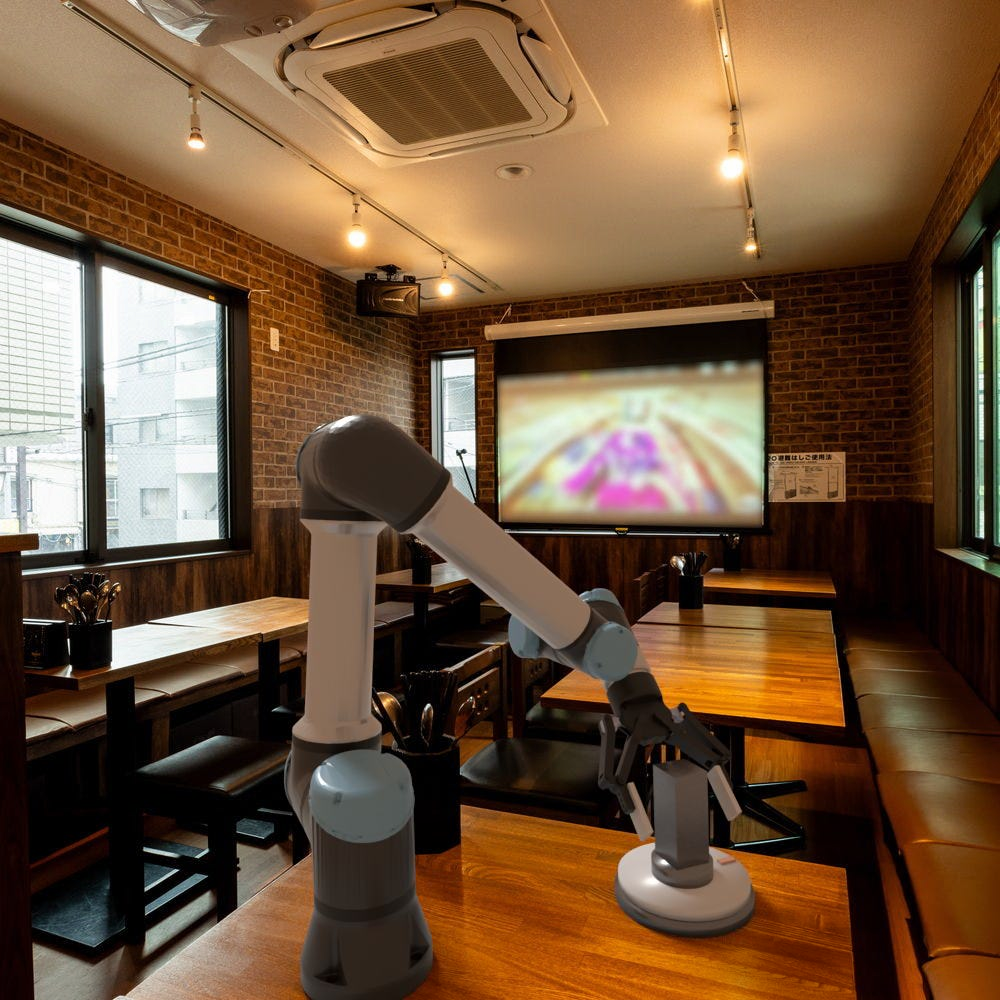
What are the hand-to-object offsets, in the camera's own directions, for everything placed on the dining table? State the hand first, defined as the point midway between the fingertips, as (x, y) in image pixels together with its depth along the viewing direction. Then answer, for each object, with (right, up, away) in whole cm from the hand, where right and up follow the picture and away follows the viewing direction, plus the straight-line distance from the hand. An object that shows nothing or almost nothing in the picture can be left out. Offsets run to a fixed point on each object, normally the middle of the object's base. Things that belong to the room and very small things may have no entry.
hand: (692, 826), depth 96 cm
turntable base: (-1, -10, +2) cm, 11 cm away
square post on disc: (-1, -7, +2) cm, 8 cm away
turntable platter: (-1, -9, +2) cm, 9 cm away
